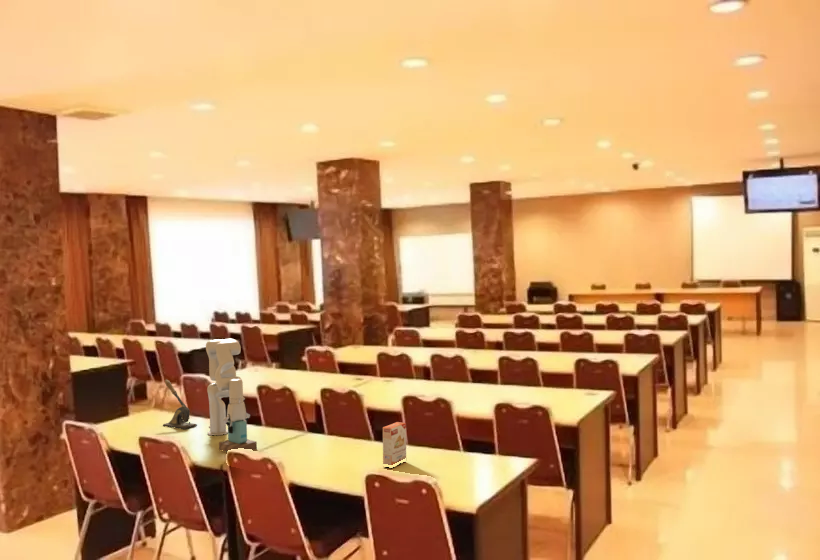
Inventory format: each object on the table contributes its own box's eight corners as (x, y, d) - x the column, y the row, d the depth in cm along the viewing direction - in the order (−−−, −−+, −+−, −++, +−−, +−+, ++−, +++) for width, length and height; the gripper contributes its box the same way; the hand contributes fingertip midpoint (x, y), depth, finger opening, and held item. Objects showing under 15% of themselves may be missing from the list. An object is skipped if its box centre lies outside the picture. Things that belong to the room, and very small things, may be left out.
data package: (247, 442, 404) (246, 421, 404) (240, 444, 401) (240, 423, 400) (234, 439, 412) (234, 418, 412) (228, 441, 409) (227, 420, 408)
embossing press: (183, 430, 457) (181, 383, 456) (161, 425, 471) (159, 380, 470) (197, 426, 466) (196, 380, 464) (175, 422, 479) (173, 377, 478)
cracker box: (392, 469, 362) (391, 428, 361) (382, 467, 365) (381, 427, 364) (407, 462, 374) (406, 422, 373) (397, 460, 377) (396, 421, 376)
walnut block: (219, 451, 407) (219, 442, 406) (240, 445, 417) (239, 437, 417) (235, 455, 396) (235, 447, 396) (256, 450, 406) (256, 441, 406)
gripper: (245, 397, 414) (246, 427, 415) (219, 402, 402) (220, 433, 403) (253, 399, 409) (254, 429, 410) (226, 404, 397) (227, 435, 397)
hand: (237, 431), depth 406 cm, fingers open, 8 cm apart
